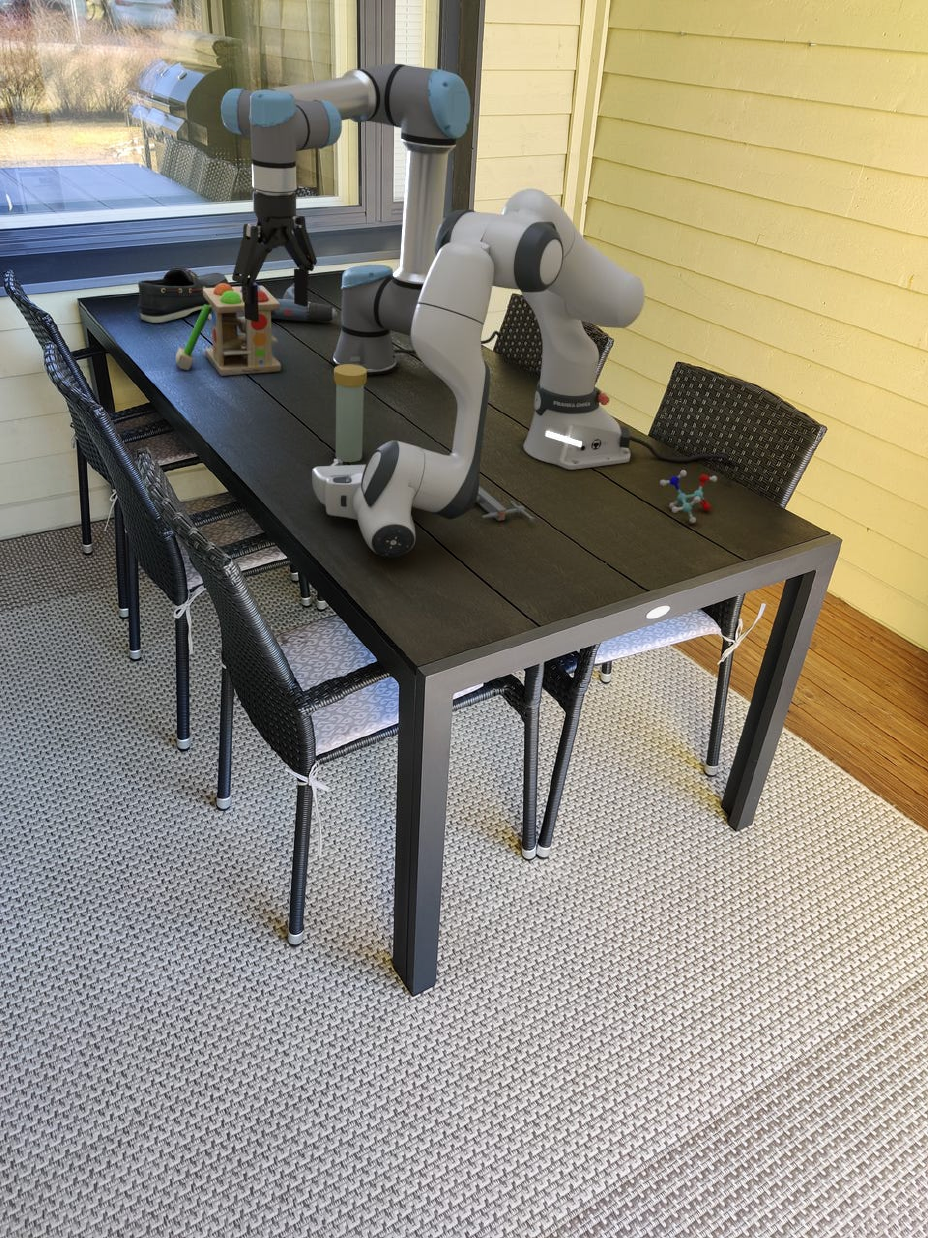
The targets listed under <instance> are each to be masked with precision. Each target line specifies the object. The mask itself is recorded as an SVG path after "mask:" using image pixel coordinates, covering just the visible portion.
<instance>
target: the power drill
mask: <svg viewBox="0 0 928 1238" xmlns="http://www.w3.org/2000/svg"><path fill="white" fill-rule="evenodd" d="M275 299H276V300H277V301H278V302H279V303H280V310H271V319H274V320H275V319H276V320H283V321H294V322H295V321H297V322H332V321H333V320H334V319H336V318H337V317H338V312H337V311H336V308H334V307H333V306H332V305H331V304H324V303H317V302H313V301H308V306H306V307H304V306H301V305H297V304H294V282H293V283H292V284H291V285H290V286H289V287H288V288H287V289H286V291H285V292H284V294H283V297H282V298H275Z"/></svg>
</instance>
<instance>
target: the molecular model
mask: <svg viewBox="0 0 928 1238" xmlns="http://www.w3.org/2000/svg"><path fill="white" fill-rule="evenodd" d="M686 476H687V471H686V470H685V469H682V470H681V471H680V472H679V474H678V475H677V476H671V477H670V478H669V480H666V479H661V480H660V481H659V485H660V486H661V487H665V486H667V485H669V484H670V485H671V486H674V487H675V491H676V492H677V494H678V495H677V496H676V500H675V501H673V502H670V503H669V504H668V507H669V509H671V512H672V513H673V514H677V513H678V512H680V511H683V512H684V513H686V514H687V516H688V517H689V519H688V520H689V523H690V524H696V522H697V518H696V517H695V516H693V513H692V510H693V506H695V504H699V503H700V505H701V508H702V510H703V511H704V512H709V511H711V507H712V506H711V504H710V503H708V502H707V501H706V499H705V497H704V492H703V487H704V484H706V483H707V482H708V481H711V483H716V482H717V481H718V477H717V476H716V475H711V476H708V475H707V474H703V473H702V474H701V475H699V478H698V479H699V482H700V483H699V486H698V489H696V490H695V491H694V492H693V493H692V494H686V493H685V492H682V491H681V488H680V487H679V486H680V485H678V484H679V483H680V479H681V478H683V477H684V478H685V477H686ZM692 498H693V500H692V501H691V502H687V500H688V499H692ZM679 503H680V504H681V503H682V505H681V506H679V507H678V506H676V505H677V504H679Z"/></svg>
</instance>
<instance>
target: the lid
mask: <svg viewBox="0 0 928 1238" xmlns="http://www.w3.org/2000/svg"><path fill="white" fill-rule="evenodd" d="M367 378H368V375H367V370H366V369H365V368H364V367H362V366H359V365H353V364H344V365H339V366H337V367H335V366H334V368H333V381H334V383H335V384H336V383H337V384H339V385H341V386H346V387H358V386H362V385H364V386H365V385H366V383H367Z"/></svg>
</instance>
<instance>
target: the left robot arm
mask: <svg viewBox="0 0 928 1238" xmlns="http://www.w3.org/2000/svg"><path fill="white" fill-rule="evenodd" d="M220 111H221V112H220V113H221V120H222V123H223V125H224V126H225V128H226V129H227V130H228V131H229V132H231V133H233V134H236V135H241V136H242V137H244V138H245V137H250V146H251V148H250V150H251V175H252V177H251V178H252V179H251V180H252V188H253V189H254V190H253V192H252V212H253V213H254V215H255V216H256V222H255V223H256V224H249V223H244V224H243V230H242V240H241V244H240V247H239V250H238V255H237V257H236V260H235V265H234V269H233V273H232V275H231V279H232V281H233V282H236V283H239V284H240V285H241V287H242V300H243V302H244V310H245V312H244V317H245V319H248V320H251V321H254V322H258V321H259V311H258V286H259V284H257V283H256V280H257V278H258V276H259V273H260V271H261V270H262V267H263V265H264V263H265V262H266V259H267V257H268V255H269V254H270V253H271V252H272V251H273V249H278V248H279V247H284V249H285V250H286V252H287V253H288V255H289V256H290V258H291V259H292V261H293V262H294V264H295V266H296V267H297V268H294V269H293V283H294V304H297V305H301V306H304V307H306V306H308V302H309V300H308V298H309V294H308V292H309V291H308V289H309V285H310V272H313V271H314V269H315V266H316V265H317V263H318V259H317V257H316V254H315V250H314V248H313V245H312V242H311V239H310V236H309V233H308V229H307V224H306V223H307V222H306V217H305V215H299V214H297V195H296V194H295V191H296V190H297V166H296V165H297V162H296V161H297V159H296V156H297V155H296V154H297V153H296V152H300V151H309V150H315V149H319V150H322V149H324V148H327V147H330V146H333V145H335V144H336V143H337V142H338V141H339V139H340V138H341V134H342V131H343V121H347V120H350V121H352V122H354V123H365V122H372V123H377V124H382V125H387V126H391V127H395V128H400V129H401V130H400V133H401V134H400V141H401V143H402V144H403V145H404V146H405V148H406V153H407V154H406V165H405V182H404V198H403V212H402V215H403V216H402V229H401V243H400V244H401V246H400V261H399V266H398V268H396V269H395V270H394V269H393V268H392V267H391V266H389V265H387V264H386V265H384V264H361V265H355V266H351V267H349V268H346V269H345V270H344V272H343V273H342V277H341V278H342V280H341V287H340V289H341V316H340V317H341V319H340V321H341V324H340V325H341V326H340V329H341V330H340V336H339V338H338V341H337V344H336V348H335V350H334V352H333V361H332V362H333V363H332V364H333V366H334V368H335V367H337V366H339V365H344V364H353V365H359V366H362V367H364V368H365V369H366V370H367V376H380V375H381V376H382V375H386V374H389V373H391V372H393V371H395V369H396V368H397V361H398V360H397V354H416V352H415V350H414V349H403V348H402V349H398V348H397V349H395V347H394V343H393V341H392V337H391V336H392V335H391V332H395V333H399V334H402V335H406V336H409V337H411V327H412V321H413V317H414V313H415V309H416V306H417V304H418V303H417V302H418V299H419V296H420V293H421V290H422V287H423V284H424V282H425V279H426V277H427V274H428V272H429V270H430V267H431V265H432V263H433V261H434V259H435V257H436V255H435V237H436V233H437V230H438V228H439V226H440V224H441V222H442V221H443V220H444V207H445V194H446V182H447V171H448V160H449V159H448V158H449V154H450V152H451V151H452V150H453V149H455V148H456V147H457V139H458V138H459V139H460V138H461V137H462V136H463V135H464V134H465V133H466V131H467V129H468V127H467V126H468V125H469V123H470V118H471V98H470V94H469V90H468V87H467V86H466V83H465V82H464V79H462V78H461V77H460V76H459V75H457V74H456V73H454V72H450V71H447V70H443V69H440V68H438V69H437V68H429V67H422V66H413V65H408V64H402V63H383V64H378V65H372V66H366V67H360V68H355V69H350V70H348V71H346V72H345V73H344V74H343V75H342V76H341V77H335V78H329V79H322V80H316V81H315V80H314V81H310V82H309V81H308V82H303V83H296V84H291V85H290V84H289V85H284V86H278V87H271V88H264V89H258V90H257V89H256V90H249V89H247V88H245V87H244V88H231V89H229V90H227V92H225V94H224V96H223V98H222V100H221V105H220ZM254 283H256V284H257V285H256V284H254ZM496 336H497V337H500V336H501V334H500V332H499V331H498V330H494V331H493V332H492V333H491V335H490V337H489V338H487V339H485V340H484V339H483V340H481V345H485V344H489V343H491V342H492V341H493V340H494V339H495V337H496Z"/></svg>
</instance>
